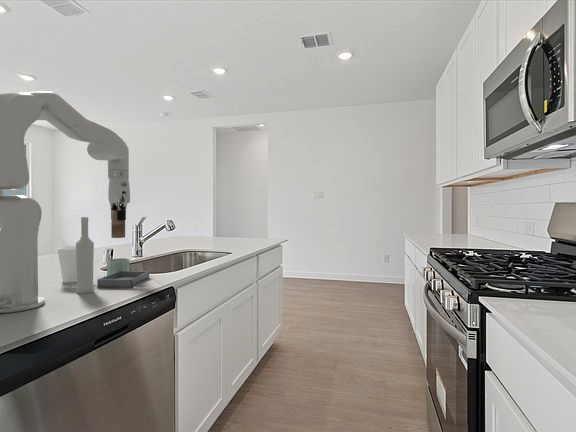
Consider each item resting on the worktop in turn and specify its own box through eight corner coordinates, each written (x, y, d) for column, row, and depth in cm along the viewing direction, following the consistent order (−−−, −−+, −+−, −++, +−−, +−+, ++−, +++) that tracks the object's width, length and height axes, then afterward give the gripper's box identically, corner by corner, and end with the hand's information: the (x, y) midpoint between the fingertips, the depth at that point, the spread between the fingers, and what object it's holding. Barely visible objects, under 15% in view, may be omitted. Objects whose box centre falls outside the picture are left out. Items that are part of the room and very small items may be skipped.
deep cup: (123, 277, 135) (123, 261, 135) (102, 277, 135) (102, 261, 135) (132, 273, 143) (132, 258, 143) (113, 273, 143) (113, 258, 143)
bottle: (72, 292, 112) (71, 217, 111) (86, 289, 116) (86, 216, 116) (83, 294, 110) (83, 217, 109) (97, 290, 115) (97, 217, 114)
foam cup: (93, 279, 131) (93, 246, 131) (75, 285, 122) (75, 249, 122) (70, 278, 132) (70, 245, 132) (51, 284, 123) (51, 248, 123)
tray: (131, 288, 119) (131, 279, 118) (97, 287, 119) (97, 279, 118) (149, 279, 134) (149, 271, 133) (118, 278, 134) (118, 271, 133)
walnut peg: (122, 238, 135) (122, 210, 135) (109, 237, 135) (109, 210, 135) (127, 236, 140) (127, 210, 140) (114, 236, 140) (114, 210, 140)
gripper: (137, 174, 134) (137, 220, 135) (118, 176, 145) (118, 219, 146) (118, 173, 129) (118, 221, 129) (100, 175, 139) (100, 219, 140)
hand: (118, 219), depth 137 cm, fingers closed on walnut peg, 5 cm apart
